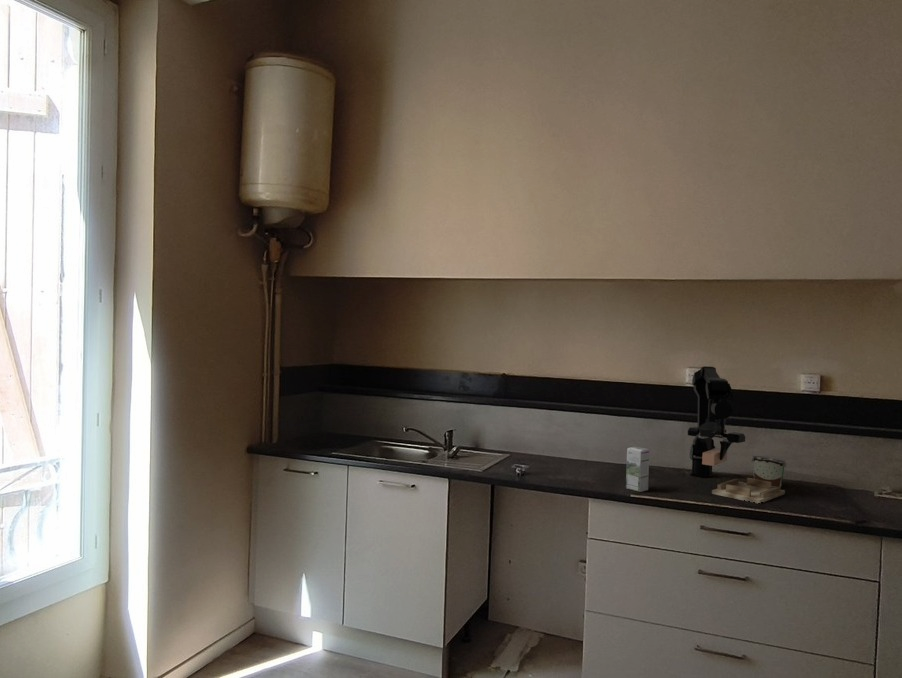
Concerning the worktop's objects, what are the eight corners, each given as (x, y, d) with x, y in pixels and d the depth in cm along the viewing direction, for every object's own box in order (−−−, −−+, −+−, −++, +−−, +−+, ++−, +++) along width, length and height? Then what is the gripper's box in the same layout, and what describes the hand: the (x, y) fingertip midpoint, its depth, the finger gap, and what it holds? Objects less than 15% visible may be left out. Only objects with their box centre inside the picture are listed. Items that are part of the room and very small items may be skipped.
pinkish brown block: (702, 464, 228) (702, 452, 228) (715, 458, 239) (715, 448, 238) (713, 466, 225) (714, 454, 225) (726, 460, 236) (727, 449, 236)
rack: (711, 493, 226) (712, 483, 226) (739, 484, 241) (739, 475, 241) (759, 503, 214) (759, 492, 214) (784, 493, 230) (785, 483, 229)
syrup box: (648, 490, 228) (650, 448, 228) (639, 492, 224) (640, 450, 224) (634, 486, 233) (636, 446, 232) (624, 489, 229) (626, 447, 228)
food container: (791, 486, 241) (792, 459, 241) (784, 489, 237) (785, 461, 237) (757, 480, 250) (758, 454, 250) (750, 482, 246) (751, 455, 246)
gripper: (680, 413, 233) (678, 456, 233) (732, 419, 219) (730, 466, 220) (696, 411, 241) (694, 453, 241) (746, 417, 227) (744, 462, 227)
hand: (714, 458), depth 232 cm, fingers closed on pinkish brown block, 4 cm apart
